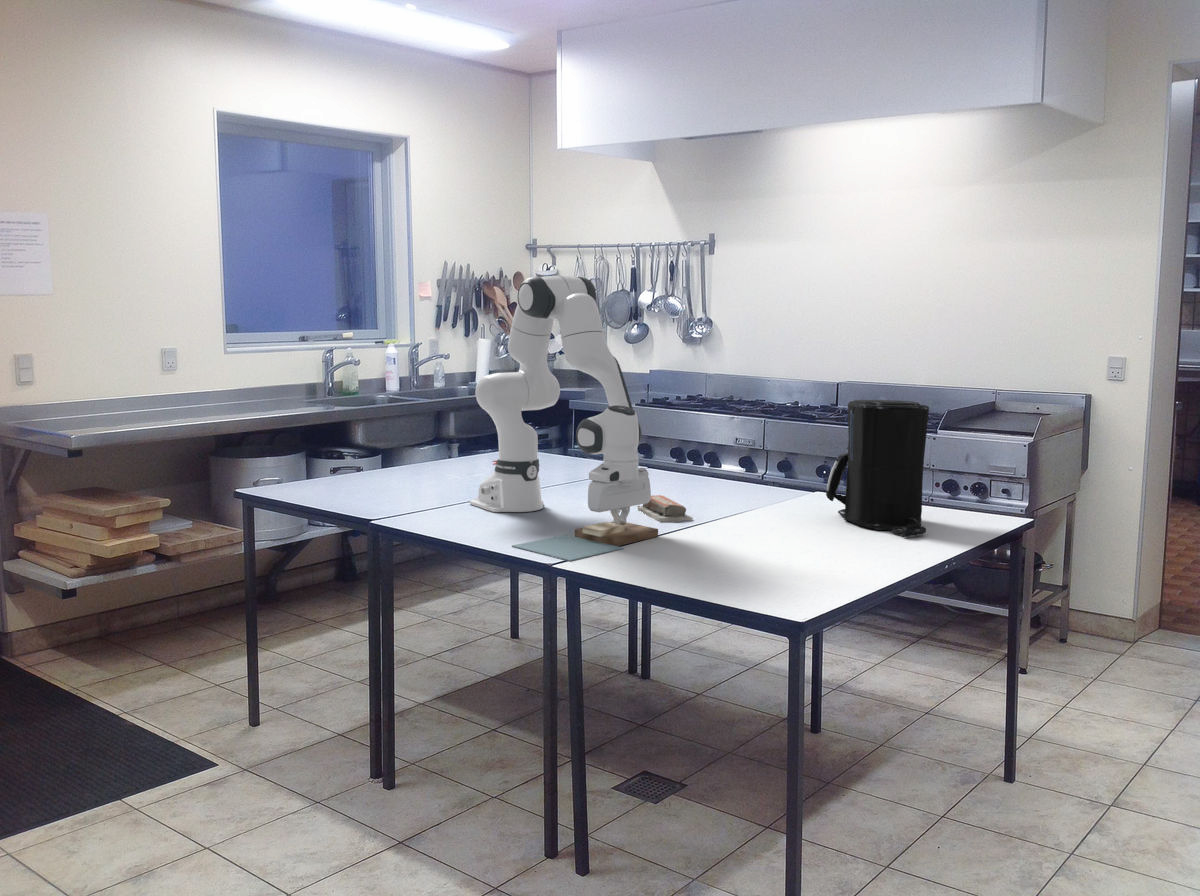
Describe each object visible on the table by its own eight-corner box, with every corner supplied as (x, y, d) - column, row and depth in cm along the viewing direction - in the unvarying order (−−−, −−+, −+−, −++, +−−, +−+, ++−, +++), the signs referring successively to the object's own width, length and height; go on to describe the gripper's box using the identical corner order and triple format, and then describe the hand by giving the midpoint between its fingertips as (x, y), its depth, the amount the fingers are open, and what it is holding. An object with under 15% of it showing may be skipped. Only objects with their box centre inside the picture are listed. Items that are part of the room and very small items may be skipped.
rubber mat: (511, 546, 251) (511, 545, 251) (565, 535, 264) (565, 534, 263) (570, 561, 237) (570, 560, 237) (623, 548, 250) (623, 547, 250)
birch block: (600, 536, 254) (600, 530, 253) (582, 532, 258) (582, 526, 257) (624, 531, 260) (624, 525, 260) (607, 527, 264) (607, 521, 264)
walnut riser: (574, 537, 262) (574, 529, 261) (617, 528, 273) (617, 520, 273) (615, 546, 252) (615, 538, 252) (658, 536, 264) (658, 528, 263)
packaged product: (636, 494, 298) (668, 493, 301) (636, 511, 298) (668, 509, 301) (659, 506, 281) (693, 504, 284) (659, 523, 281) (693, 522, 284)
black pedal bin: (876, 510, 302) (882, 394, 298) (965, 531, 274) (972, 404, 270) (816, 517, 291) (821, 397, 287) (902, 540, 263) (909, 407, 259)
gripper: (638, 465, 271) (637, 517, 273) (583, 473, 256) (583, 528, 258) (657, 468, 267) (656, 520, 268) (602, 476, 252) (601, 532, 254)
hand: (620, 524), depth 263 cm, fingers closed
